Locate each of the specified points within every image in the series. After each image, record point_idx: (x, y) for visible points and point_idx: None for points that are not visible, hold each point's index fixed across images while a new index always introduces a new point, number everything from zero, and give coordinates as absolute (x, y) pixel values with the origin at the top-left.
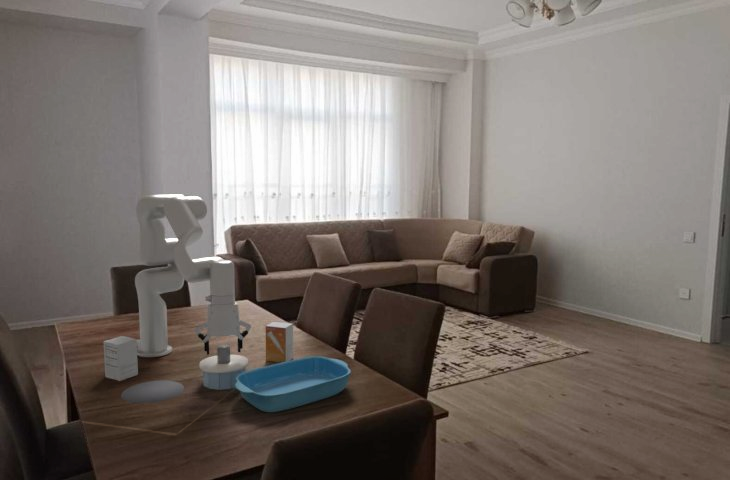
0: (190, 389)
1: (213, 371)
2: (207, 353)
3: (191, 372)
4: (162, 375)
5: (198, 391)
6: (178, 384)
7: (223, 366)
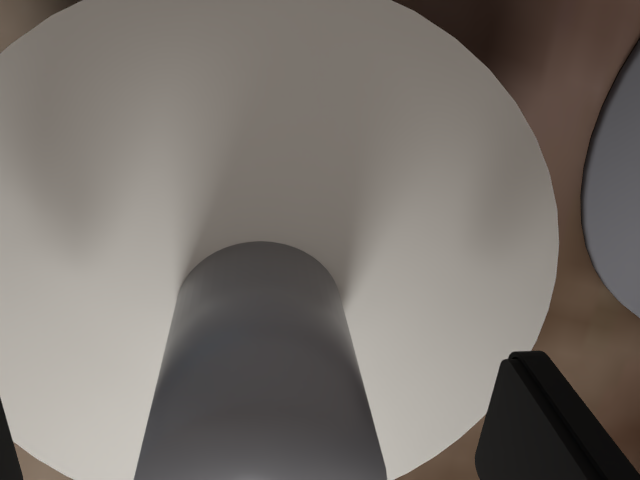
0: (542, 137)
1: (429, 22)
2: (541, 357)
3: (464, 440)
4: (635, 425)
5: (493, 69)
6: (611, 237)
7: (275, 142)
